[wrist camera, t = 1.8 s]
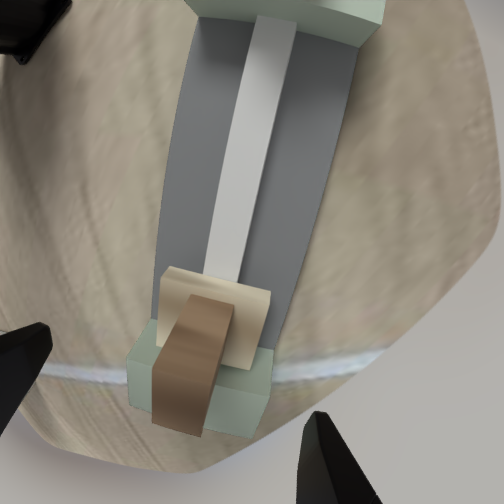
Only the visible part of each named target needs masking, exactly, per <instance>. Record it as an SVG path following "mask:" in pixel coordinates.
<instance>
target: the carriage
mask: <svg viewBox="0 0 504 504" xmlns="http://www.w3.org/2000/svg"><path fill="white" fill-rule="evenodd" d="M270 296H271V291H268V290H264V289H260V288H256V287H251V286H247V285H243V284H239V283H235V282H231V281H227V280H223V279H219V278H215V277H211V276H207V275H203V274H199V273H195V272H191V271H188V270H184V269H180V268H176V267H172V266H169V267H168V269H167V270H166V271H165V273H164V274H163V275H162V276H161V280H160V292H159V305H158V320H157V338H156V346H159V347H162V349H161V351H160V353H159V355H158V357H157V359H156V361H155V363H154V365H153V367H152V423H154V424H157V425H160V426H163V427H166V428H170V429H173V430H176V431H180V432H183V433H187V434H190V435H194V436H198V437H201V434H202V430H203V426H204V423H205V419H206V415H207V412H208V408H209V405H210V401H211V397H212V394H213V390H214V386H215V383H216V379H217V376H218V372H219V368H220V365H221V364H223V365H228V366H232V367H236V368H240V369H244V370H249V371H250V368H251V365H252V361H253V358H254V355H255V352H256V348H257V345H258V342H259V339H260V335H261V332H262V329H263V325H264V322H265V319H266V315H267V312H268V308H269V305H270Z"/></svg>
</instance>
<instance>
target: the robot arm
mask: <svg viewBox="0 0 504 504" xmlns="http://www.w3.org/2000/svg"><path fill="white" fill-rule="evenodd" d="M64 2H65V3H64ZM70 3H71V0H0V54H4V55H12V56H13V57H14V58H15V59H16V61H17V62H18V63H19V64H20V65H25V64H27V62H28V61H29V59H30V58H31V56H32V55H33V53H34V52H35V50H36V49H37V47H38V46H39V44H40V43H41V41H42V40H43V39H44V37H45V36H46V34H47V33H48V32H49V30H50V29H51V27H52V26H53V25H54V23H55V22H56V21H57V20H58V18H59V17H60V16H61V14H62V13H63V12H64V11H65V9H66V8H67V7H68V6H69V4H70ZM52 347H53V342H52V336H51V331H50V328H49V326H48V325H46V324H44V323H41V322H37V323H34V324H32V325H29V326H26V327H23V328H20V329H17V330H14V331H11V332H8V333H5V334H2V335H0V436H1V434H2V433H3V431H4V429H5V428H6V426H7V424H8V423H9V421H10V419H11V418H12V416H13V415H14V413H15V411H16V410H17V408H18V407H19V405H20V403H21V402H22V400H23V399H24V397H25V396H26V394H27V393H28V391H29V390H30V388H31V387H32V385H33V383H34V382H35V380H36V378H37V376H38V374H39V372H40V371H41V369H42V367H43V365H44V363H45V361H46V359H47V358H48V356H49V354H50V352H51V350H52ZM296 494H297V495H296V504H383V503H382V502H381V500H380V498H379V497H378V495H376V492H375V491H374V489H373V487H372V486H371V484H370V482H369V481H368V479H367V478H366V476H365V474H364V473H363V471H362V469H361V468H360V466H359V465H358V463H357V461H356V460H355V458H354V456H353V455H352V453H351V452H350V450H349V448H348V447H347V445H346V443H345V442H344V440H343V439H342V437H341V435H340V433H339V432H338V430H337V428H336V427H335V425H334V423H333V422H332V420H331V418H330V417H329V415H328V414H327V413H326V412H320V411H314V412H313V413H312V415H311V416H310V418H309V420H308V422H307V423H306V424H305V426H304V430H303V436H302V443H301V450H300V456H299V463H298V470H297V493H296Z"/></svg>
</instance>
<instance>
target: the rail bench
mask: <svg viewBox="0 0 504 504" xmlns="http://www.w3.org/2000/svg"><path fill="white" fill-rule="evenodd" d="M184 1H185V2H186V3H187V4H188V5H189V6H190V8H191V9H192V10H193V11H194V12H195V13H196V14H197V15H198V16H199V18H198V21H197V25H196V29H195V32H194V36H193V40H192V44H191V48H190V52H189V56H188V60H187V64H186V68H185V73H184V77H183V82H182V86H181V91H180V96H179V100H178V105H177V110H176V115H175V121H174V126H173V131H172V137H171V143H170V148H169V154H168V161H167V167H166V174H165V180H164V187H163V195H162V202H161V210H160V218H159V227H158V236H157V246H156V257H155V268H154V281H153V295H152V312H151V320H150V321H149V323H148V324H147V326H146V327H145V329H144V330H143V332H142V334H141V335H140V337H139V338H138V340H137V341H136V343H135V345H134V346H133V348H132V349H131V351H130V353H129V354H128V356H127V357H126V365H127V381H128V394H129V405H130V406H133V407H136V408H139V409H141V410H144V411H147V412H150V413H152V367H153V365H154V363H155V361H156V359H157V357H158V355H159V353H160V351H161V349H162V347H159V346H156V338H157V320H158V305H159V292H160V280H161V276H162V275H163V274H164V273H165V271H166V270H167V269H168V267H169V266H172V267H176V268H180V269H184V270H188V271H191V272H195V273H199V274H203V275H207V276H211V277H215V278H219V279H223V280H227V281H231V282H235V283H239V284H243V285H247V286H251V287H256V288H260V289H264V290H268V291H271V296H270V305H269V308H268V312H267V315H266V319H265V322H264V325H263V329H262V332H261V335H260V339H259V342H258V345H257V348H256V352H255V355H254V358H253V361H252V365H251V368H250V371H249V370H244V369H240V368H236V367H232V366H228V365H223V364H221V365H220V368H219V372H218V376H217V379H216V383H215V386H214V390H213V394H212V397H211V401H210V405H209V408H208V412H207V415H206V419H205V423H204V426H203V428H205V429H209V430H213V431H217V432H221V433H226V434H230V435H235V436H239V437H244V438H249V439H252V438H253V436H254V433H255V431H256V429H257V426H258V424H259V422H260V420H261V417H262V415H263V412H264V410H265V408H266V405H267V403H268V401H269V398H270V391H271V379H272V367H273V354H274V348H275V345H276V343H277V340H278V337H279V334H280V331H281V328H282V325H283V322H284V319H285V316H286V313H287V310H288V307H289V304H290V301H291V298H292V295H293V292H294V289H295V285H296V282H297V279H298V276H299V273H300V270H301V266H302V263H303V260H304V257H305V253H306V250H307V247H308V244H309V240H310V237H311V234H312V230H313V227H314V223H315V220H316V217H317V213H318V210H319V206H320V203H321V199H322V196H323V192H324V188H325V185H326V181H327V177H328V174H329V170H330V166H331V163H332V159H333V155H334V151H335V147H336V144H337V140H338V136H339V132H340V128H341V124H342V120H343V116H344V112H345V108H346V103H347V99H348V95H349V91H350V86H351V82H352V78H353V73H354V69H355V64H356V60H357V55H358V50H359V47H360V46H361V45H362V44H363V43H364V42H365V41H366V40H367V39H368V38H369V37H370V36H371V35H372V34H373V33H374V32H375V31H376V30H377V29H378V28H379V27H380V26H381V25H382V19H383V13H384V8H385V2H386V0H184Z"/></svg>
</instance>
